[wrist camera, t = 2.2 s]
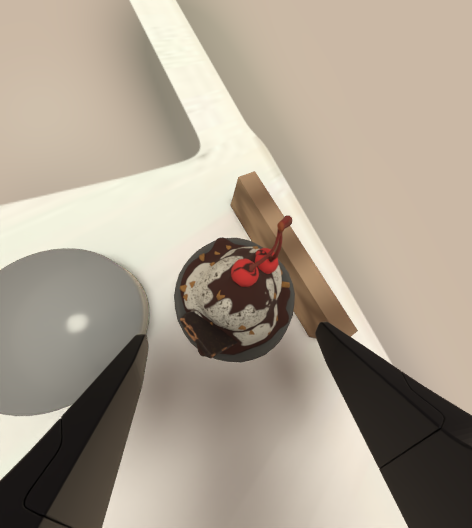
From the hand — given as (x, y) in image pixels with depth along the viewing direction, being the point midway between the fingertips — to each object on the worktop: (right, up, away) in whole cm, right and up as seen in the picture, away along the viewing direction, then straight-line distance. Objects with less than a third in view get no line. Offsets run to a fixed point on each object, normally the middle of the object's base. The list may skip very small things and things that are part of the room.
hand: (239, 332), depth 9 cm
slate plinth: (-15, -2, +7) cm, 16 cm away
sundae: (-2, -1, +10) cm, 11 cm away
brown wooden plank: (+4, +4, +13) cm, 14 cm away
